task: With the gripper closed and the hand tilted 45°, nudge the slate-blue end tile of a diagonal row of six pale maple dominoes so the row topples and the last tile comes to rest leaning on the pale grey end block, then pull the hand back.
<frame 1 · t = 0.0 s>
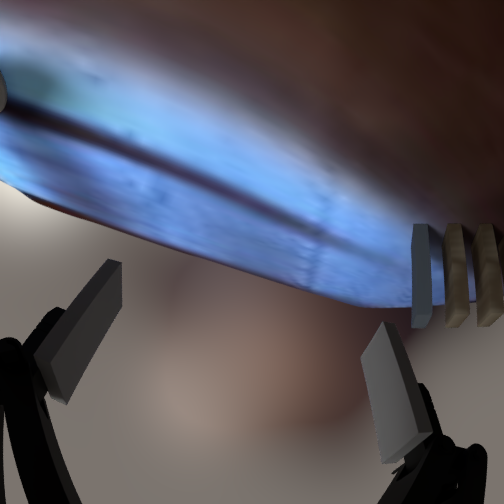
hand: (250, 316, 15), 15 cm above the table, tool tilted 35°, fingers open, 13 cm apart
domino 3: (481, 235, 29), on the table
domino 1: (418, 235, 32), on the table
domino 2: (450, 235, 31), on the table
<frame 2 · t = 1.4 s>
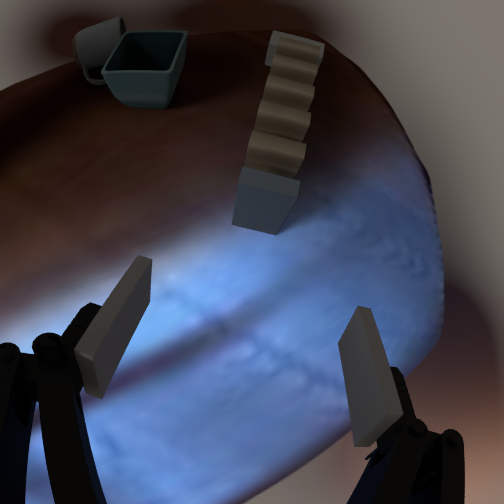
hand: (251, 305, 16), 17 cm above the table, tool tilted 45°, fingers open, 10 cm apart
domino 5: (279, 116, 40), on the table
ceramic mug: (107, 65, 40), on the table
end block: (291, 63, 43), on the table
domino 3: (268, 163, 37), on the table
domino 1: (255, 223, 35), on the table
flower pot: (154, 96, 39), on the table
domino 6: (284, 96, 41), on the table
domino 2: (262, 192, 36), on the table
domino 4: (274, 138, 39), on the table
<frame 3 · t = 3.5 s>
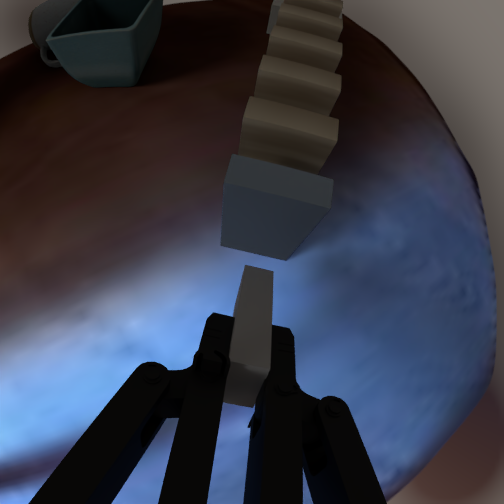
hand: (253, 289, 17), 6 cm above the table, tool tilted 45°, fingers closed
domino 5: (287, 93, 28), on the table
ceramic mug: (72, 44, 29), on the table
end block: (300, 33, 32), on the table
domino 3: (274, 155, 26), on the table
domino 1: (255, 243, 24), on the table
flower pot: (122, 73, 28), on the table
domino 6: (292, 69, 30), on the table
domino 2: (265, 196, 25), on the table
domino 4: (281, 121, 27), on the table
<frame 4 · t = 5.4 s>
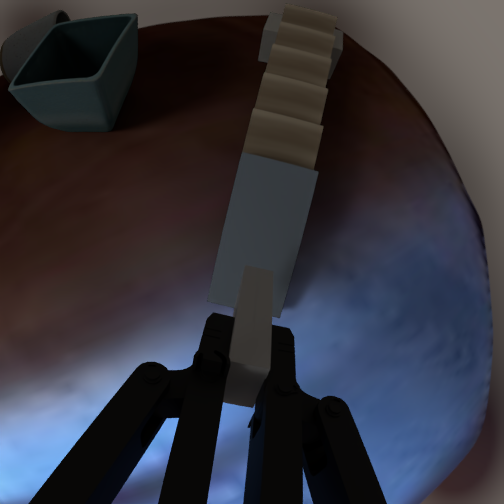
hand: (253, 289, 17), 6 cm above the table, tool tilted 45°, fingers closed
domino 5: (282, 128, 26), point 1 cm above the table, tilted 54°, touching domino 4, domino 6
ceramic mug: (48, 77, 27), on the table
end block: (296, 59, 30), on the table
domino 3: (265, 204, 24), point 1 cm above the table, tilted 61°, touching domino 2, domino 4
domino 1: (243, 306, 22), point 1 cm above the table, tilted 64°, touching domino 2
flower pot: (98, 113, 26), on the table
domino 6: (288, 101, 27), point 1 cm above the table, tilted 50°, touching domino 5, end block
domino 2: (254, 253, 23), point 1 cm above the table, tilted 63°, touching domino 1, domino 3
domino 4: (274, 162, 25), point 1 cm above the table, tilted 58°, touching domino 3, domino 5
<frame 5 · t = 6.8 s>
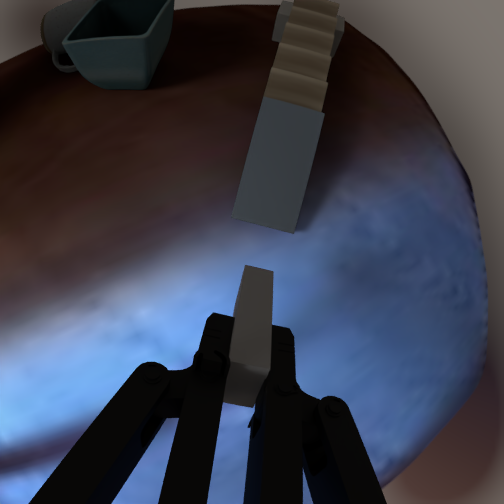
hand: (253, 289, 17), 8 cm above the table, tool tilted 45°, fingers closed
domino 5: (293, 91, 30), point 1 cm above the table, tilted 55°, touching domino 4, domino 6
ceramic mug: (83, 49, 31), on the table
end block: (304, 40, 34), on the table
domino 3: (280, 146, 28), point 1 cm above the table, tilted 61°, touching domino 2, domino 4
domino 1: (262, 224, 25), point 1 cm above the table, tilted 64°, touching domino 2
flower pot: (133, 76, 30), on the table
domino 6: (297, 71, 31), point 1 cm above the table, tilted 50°, touching domino 5, end block
domino 2: (271, 183, 26), point 1 cm above the table, tilted 63°, touching domino 1, domino 3
domino 4: (287, 116, 29), point 1 cm above the table, tilted 58°, touching domino 3, domino 5
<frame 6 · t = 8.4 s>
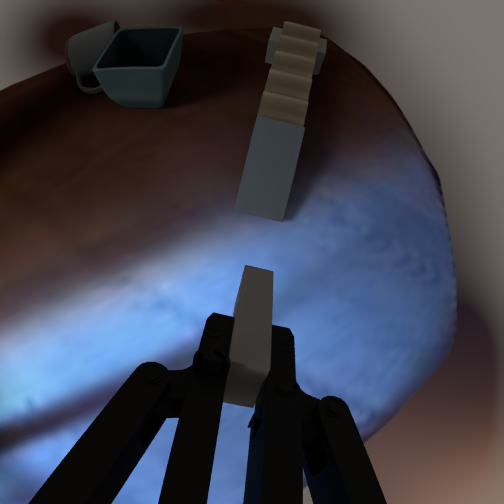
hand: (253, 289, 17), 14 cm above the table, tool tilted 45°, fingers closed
domino 5: (282, 108, 37), point 1 cm above the table, tilted 55°, touching domino 4, domino 6
ceramic mug: (102, 72, 38), on the table
end block: (293, 61, 41), on the table
domino 3: (271, 154, 35), point 1 cm above the table, tilted 61°, touching domino 2, domino 4
domino 1: (258, 215, 32), point 1 cm above the table, tilted 64°, touching domino 2
flower pot: (149, 96, 37), on the table
domino 6: (286, 90, 38), point 1 cm above the table, tilted 50°, touching domino 5, end block
domino 2: (265, 183, 34), point 1 cm above the table, tilted 63°, touching domino 1, domino 3
domino 4: (277, 129, 36), point 1 cm above the table, tilted 58°, touching domino 3, domino 5
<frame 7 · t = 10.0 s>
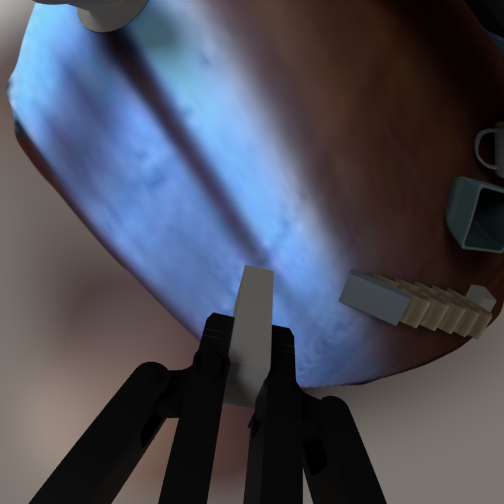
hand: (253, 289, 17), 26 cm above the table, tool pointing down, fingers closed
domino 5: (425, 298, 47), point 1 cm above the table, tilted 55°, touching domino 4, domino 6
ceramic mug: (495, 146, 35), on the table
end block: (468, 303, 48), on the table
domino 3: (389, 292, 47), point 1 cm above the table, tilted 61°, touching domino 2, domino 4
domino 1: (345, 285, 46), point 1 cm above the table, tilted 64°, touching domino 2
flower pot: (460, 197, 40), on the table
domino 6: (441, 300, 47), point 1 cm above the table, tilted 50°, touching domino 5, end block
domino 2: (367, 288, 46), point 1 cm above the table, tilted 63°, touching domino 1, domino 3
domino 4: (408, 295, 47), point 1 cm above the table, tilted 58°, touching domino 3, domino 5
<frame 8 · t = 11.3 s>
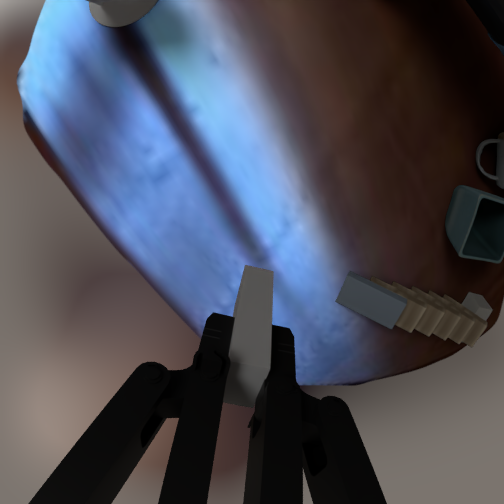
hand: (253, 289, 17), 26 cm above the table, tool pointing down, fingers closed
domino 5: (422, 303, 48), point 1 cm above the table, tilted 55°, touching domino 4, domino 6
ceramic mug: (497, 157, 35), on the table
end block: (465, 310, 49), on the table
domino 3: (386, 295, 47), point 1 cm above the table, tilted 61°, touching domino 2, domino 4
domino 1: (342, 286, 47), point 1 cm above the table, tilted 64°, touching domino 2
flower pot: (461, 206, 40), on the table
domino 6: (437, 306, 48), point 1 cm above the table, tilted 50°, touching domino 5, end block
domino 2: (364, 291, 47), point 1 cm above the table, tilted 63°, touching domino 1, domino 3
domino 4: (405, 299, 47), point 1 cm above the table, tilted 58°, touching domino 3, domino 5
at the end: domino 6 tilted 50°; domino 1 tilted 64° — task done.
